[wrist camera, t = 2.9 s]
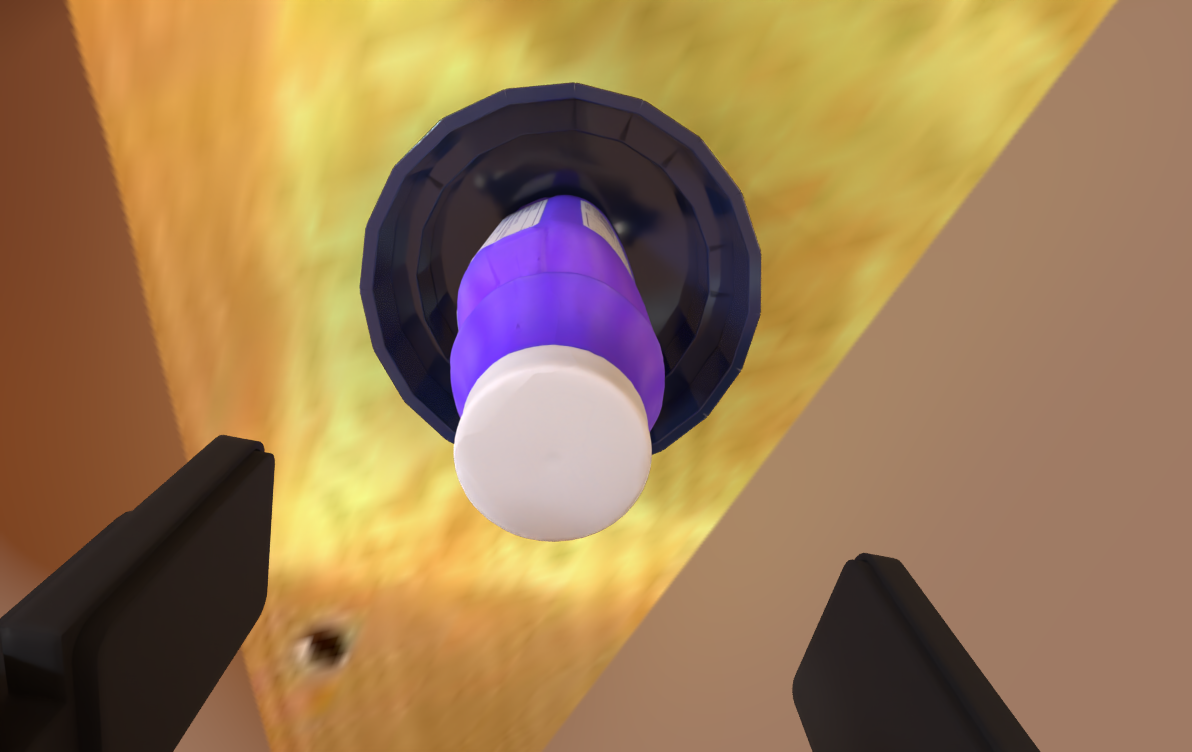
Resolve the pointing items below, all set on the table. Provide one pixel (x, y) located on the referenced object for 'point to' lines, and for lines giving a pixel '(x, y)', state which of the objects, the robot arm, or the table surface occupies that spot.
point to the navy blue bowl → (580, 168)
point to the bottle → (554, 374)
